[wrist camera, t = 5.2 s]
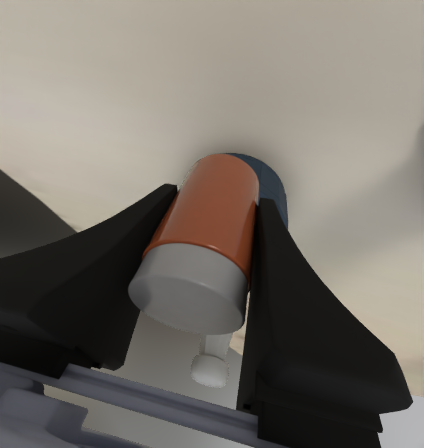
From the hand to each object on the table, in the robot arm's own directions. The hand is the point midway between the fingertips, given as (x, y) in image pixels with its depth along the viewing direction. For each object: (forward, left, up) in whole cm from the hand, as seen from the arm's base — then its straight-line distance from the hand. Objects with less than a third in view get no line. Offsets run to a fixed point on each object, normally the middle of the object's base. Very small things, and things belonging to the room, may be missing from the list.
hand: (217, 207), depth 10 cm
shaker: (0, 0, -2) cm, 2 cm away
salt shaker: (+12, +19, -10) cm, 24 cm away
